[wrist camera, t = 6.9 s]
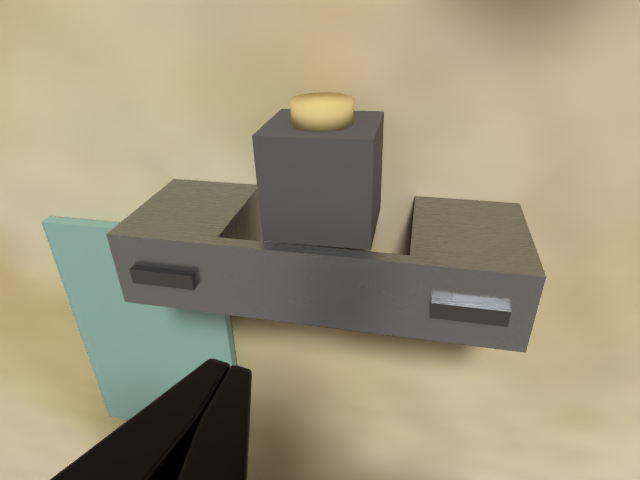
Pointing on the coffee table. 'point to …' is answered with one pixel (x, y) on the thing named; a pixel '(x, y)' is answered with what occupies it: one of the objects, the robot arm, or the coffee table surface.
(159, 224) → the housing
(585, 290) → the coffee table surface
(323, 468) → the coffee table surface
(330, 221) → the plug
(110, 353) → the mat
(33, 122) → the coffee table surface
